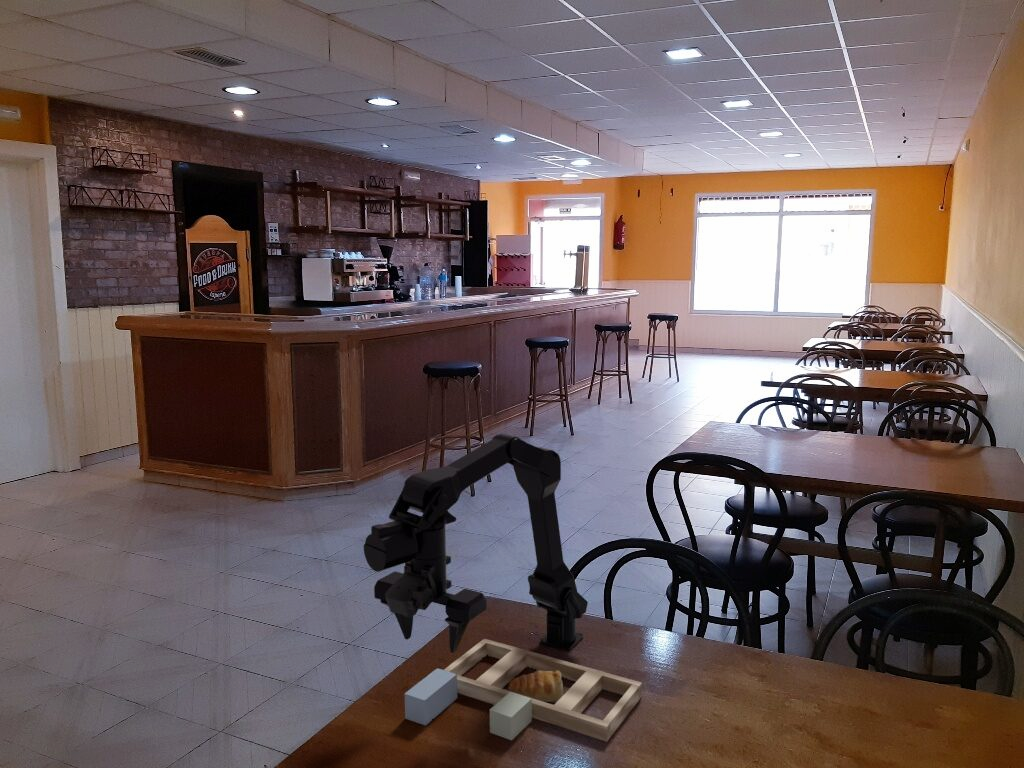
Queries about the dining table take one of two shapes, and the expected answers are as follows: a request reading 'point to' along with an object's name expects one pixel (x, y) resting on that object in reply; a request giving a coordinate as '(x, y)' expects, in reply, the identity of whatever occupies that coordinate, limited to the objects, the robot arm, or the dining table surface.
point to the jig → (559, 714)
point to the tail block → (510, 715)
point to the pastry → (539, 685)
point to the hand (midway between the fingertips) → (430, 645)
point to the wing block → (430, 696)
